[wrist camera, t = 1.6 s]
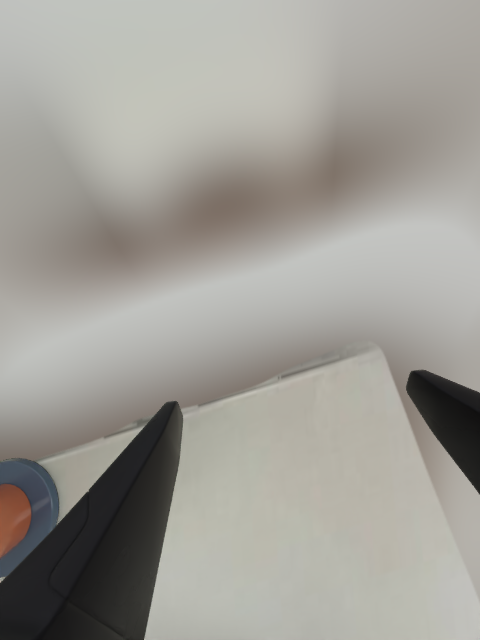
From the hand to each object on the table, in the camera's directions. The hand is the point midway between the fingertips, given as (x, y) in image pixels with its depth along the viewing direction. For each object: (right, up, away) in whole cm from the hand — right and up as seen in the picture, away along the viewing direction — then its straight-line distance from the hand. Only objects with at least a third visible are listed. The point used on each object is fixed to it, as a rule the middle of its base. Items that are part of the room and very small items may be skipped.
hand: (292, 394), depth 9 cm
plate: (-25, -16, +14) cm, 33 cm away
